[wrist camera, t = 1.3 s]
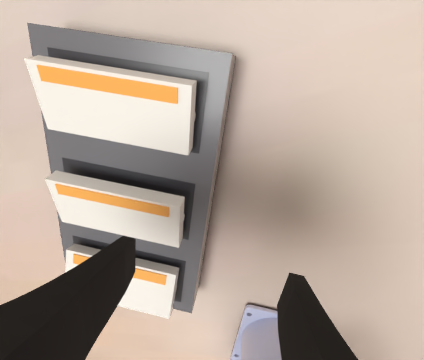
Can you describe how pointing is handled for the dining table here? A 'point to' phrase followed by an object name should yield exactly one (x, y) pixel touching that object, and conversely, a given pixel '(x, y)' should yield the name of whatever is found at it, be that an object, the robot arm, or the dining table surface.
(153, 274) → the rocker
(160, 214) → the rocker middle
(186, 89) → the rocker
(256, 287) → the dining table surface
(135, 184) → the switch panel
